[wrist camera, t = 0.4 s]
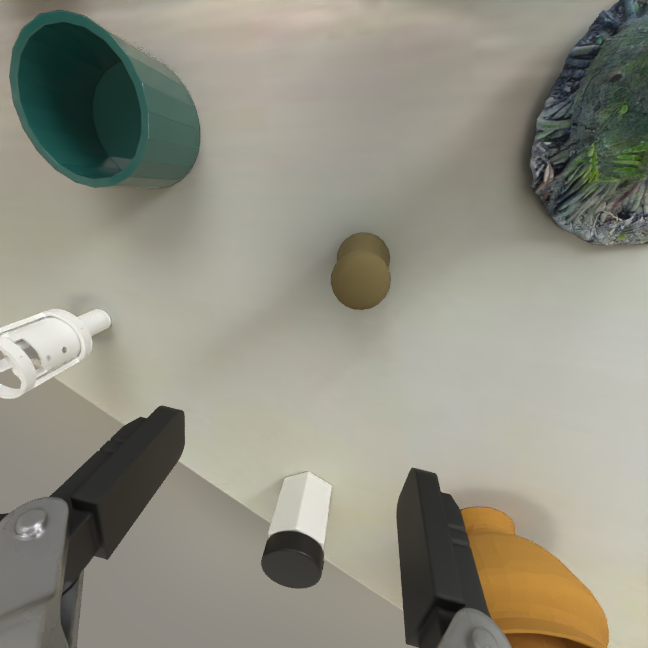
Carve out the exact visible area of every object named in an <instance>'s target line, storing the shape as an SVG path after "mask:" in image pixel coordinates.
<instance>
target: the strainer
mask: <svg viewBox="0 0 648 648" xmlns="http://www.w3.org/2000/svg"><path fill="white" fill-rule="evenodd" d="M30 322H32V323H31V324H30V325H27V326H24V327H22V328H19V329H17V330H14V331H11V332H9V333H8V332H7V331H9V330H12V329H14V328H17V327H20V326H22V325H25V324H28V323H30ZM110 325H111V319H110V317H109V315H108V314H107V313H106V312H105V311H103V310H101V309H94V310H92V311H90V312H88V313H85V314H83V315H80V316H78V317H76V316H74V315H73V314H71V313H69V312H67V311H65V310H61V309H50V310H47V311H45V312H42V313H39V314H36V315H34V316H31V317H28V318H26V319H23V320H20V321H17V322H15V323H12V324H9V325H6V326H4V327H1V328H0V334H1V333H4V332H7V333H5V334H2V335H0V351H2V352H3V354H4V356H5V358H4V359H2V360H0V372H2V371H4V370H6V369H9V368H11V367H13V368H12V370H13V373H14V374H15V375H16V376H18V377H19V378H20V380H21V387H20V389H13V388H9V387H6V386H4V385H2V384H0V397H1V398H6V399H13V398H17V397H19V396H21V395H22V394H24V393H26V392H28V391H29V390H31V389H33V388H34V387H36V386H38V385H39V384H41V383H43V382H45V381H46V380H48V379H50V378H52V377H53V376H55V375H57V374H59V373H60V372H62V371H64V370H66V369H67V368H69V367H71V366H72V365H74V364H76V363H78V362H79V361H81V360H83V359H85V358H86V357H88V356H89V354H90V353H91V351H92V338H91V337H92V336H93V335H95V334H97V333H99V332H101V331H103V330H105V329H107V328H109V327H110ZM65 350H66V351H65ZM30 359H34V360H39V361H41V363H40V364H42V367H40V368H38V369H36V370H35V368H34V366H33V364H32V362H31V360H30ZM61 364H64V365H62V366H60V367H59V368H57V369H55V370H53V371H52V372H50V373H48V374H46V375H45V376H43V377H41V378H39V379H37V380H36V378H38V377H39V376H41V375H43V374H45V373H47V372H48V371H50V370H52V369H54V368H56V367H57V366H59V365H61Z"/></svg>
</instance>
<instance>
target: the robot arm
mask: <svg viewBox="0 0 648 648" xmlns="http://www.w3.org/2000/svg"><path fill="white" fill-rule="evenodd" d="M184 445H185V416H184V412H183V411H182V410H178V409H174V408H170V407H166V406H159V407H158V408H157V409H156V410H155V411H154V412H153V413H152V414H151V415H150V416H149V417H148V418H143V417H139V418H138V419H136V420H134V421H132V422H130V423H128V424H127V425H125V426H123V427H122V428H121V429H120V430H119V431H118V432H117V433H116V434H115V435H114V436H113V437H112V438H111V440H110V441H108V442H106V444H104V445H103V446H102V447H101V448H100V451H97V452H96V453H95V454H94V455H93V456H92V457H91V458H90V459H89V460H88V461H87V462H86V463H85V464H83V465H82V466H81V467H80V468H79V469H78V470H77V471H76V472H75V473H74V474H73V475H72V476H71V477H70V478H69V479H68V480H67V481H66V482H65V483H64V484H63V485H61V487H59V488H58V489H57V490H56V491H55V492H54V493H53V494H52V495H50V496H49V497H43V498H38V499H35V500H32V501H30V502H27V503H25V504H23V505H21V506H19V507H18V508H16V509H15V510H13V511H12V512H10V513H7V514H0V648H77V639H78V629H79V618H80V607H81V597H82V588H83V577H84V568H85V567H86V566H87V564H88V563H89V562H90V560H91V559H92V557H93V556H97V557H100V558H104V559H107V560H108V558H109V557H110V556H111V554H112V553H113V551H114V550H115V549H116V547H117V546H118V544H119V543H120V542H121V540H122V539H123V538H124V536H125V535H126V533H127V532H128V531H129V529H130V528H131V526H132V525H133V523H134V522H135V521H136V519H137V518H138V516H139V515H140V514H141V512H142V511H143V509H144V508H145V507H146V505H147V504H148V502H149V501H150V500H151V498H152V497H153V495H154V494H155V493H156V491H157V490H158V488H159V487H160V486H161V484H162V483H163V481H164V480H165V478H166V477H167V476H168V474H169V473H170V472H171V470H172V469H173V467H174V466H175V464H176V463H177V462H178V460H179V458H180V457H181V454H182V452H183V449H184ZM397 530H398V543H399V557H400V570H401V583H402V597H403V610H404V624H405V637H406V644H408V645H412V646H416V647H419V648H512V647H511V645H510V643H509V641H508V639H507V638H506V636H505V634H504V633H503V631H502V630H501V629H500V628H499V626H498V625H497V624H496V623H495V622H494V621H493V620H492V618H491V616H490V614H489V611H488V608H487V604H486V601H485V597H484V593H483V590H482V586H481V582H480V579H479V575H478V571H477V568H476V564H475V561H474V557H473V553H472V550H471V548H470V542H469V539H468V535H467V533H466V528H465V524H464V521H463V517H462V513H461V511H460V509H459V507H458V506H457V504H456V503H455V501H454V500H453V498H452V496H451V495H450V494H446V493H442V492H441V491H440V486H439V482H438V478H437V475H436V474H435V473H432V472H428V471H424V470H420V469H416V468H411V470H410V472H409V474H408V477H407V479H406V482H405V484H404V486H403V489H402V491H401V494H400V496H399V499H398V504H397Z"/></svg>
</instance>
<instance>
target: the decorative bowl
mask: <svg viewBox="0 0 648 648" xmlns="http://www.w3.org/2000/svg"><path fill="white" fill-rule="evenodd" d="M460 511H461V513H462V517H463V521H464V524H465V528H466V533H467V535H468V539H469V542H470V548H471V550H472V553H473V557H474V561H475V564H476V568H477V571H478V575H479V579H480V582H481V586H482V590H483V593H484V597H485V601H486V604H487V608H488V611H489V614H490V616H491V618H492V620H493V621H494V622H495V623H496V624H497V625H498V626H499V628H500V629H501V630H502V631H503V633H504V634H505V636H506V638H507V639H508V641H509V643H510V645H511V647H512V648H607V646H608V643H609V630H608V624H607V619H606V617H605V614H604V611H603V609H602V608H601V606H600V605H599V603H598V602H597V600H596V599H595V597H594V596H593V594H592V593H591V591H590V590H589V589H588V588H587V587H586V586H585V585H584V584H583V583H582V582H581V581H580V580H579V579H578V578H577V577H576V576H575V575H574V574H573V573H572V572H571V571H570V570H569V569H568V568H567V567H566V566H565V565H564V564H563V563H562V562H561V561H560V560H559V559H557V558H556V557H555V556H554V555H552V554H551V553H549V552H548V551H546V550H545V549H543V548H542V547H540V546H539V545H537V544H536V543H533V542H531V541H529V540H527V539H525V538H522V537H519V536H515V527H514V523H513V522H512V520H511V518H509V517H508V516H507V515H506V514H504V513H502V512H500V511H497V510H495V509H492V508H486V507H472V508H466V509H463V510H460Z"/></svg>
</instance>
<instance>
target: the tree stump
mask: <svg viewBox="0 0 648 648" xmlns="http://www.w3.org/2000/svg"><path fill="white" fill-rule="evenodd" d="M536 128H537V131H536V135H535V137H534V143H533V146H532V150H531V153H532V157H531V160H530V167H531V170H532V175H533V182H532V184H531V187H532V188H533V192H534V193H535V194H537V195H539V196H540V198H541V200H542V204H543V205H544V206H545V207H546V208H547V209H548V211H549V213H550V216H551V217H552V218H553V219H554V220H555V221H556V223H557V224H558V226H559V227H561V228H563V229H565V230H567V231H569V232H572V233H573V234H577V235H578V236H579V237H580V238H581V239H583V240H585V241H587V242H589V243H590V244H594V245H626V244H648V0H620V1H619V2H617V3H616V4H614V5H613V6H612V8H611V9H610V10H608V11H604V10H603V11H602V12H601V13H600V14H599V16H598V18H597V19H596V20H595V21H594V23H593V24H592V25H591V26H590V27H589V30H588V32H587V33H586V35H585V36H584V37H583V38H582V39H581V40H580V41H579V42H578V43H577V44H576V45H575V46H574V47H573V49H572V50H571V52H570V54H569V56H568V58H567V59H566V62H565V66H564V68H563V71H562V72H561V74H560V76H559V77H558V79H557V80H556V83H555V85H554V86H553V87H552V90H551V92H550V96H549V97H548V98H547V99H546V100H545V102H544V109H543V111H542V112H541V113H540V116H539V117H538V118H537V124H536Z"/></svg>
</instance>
